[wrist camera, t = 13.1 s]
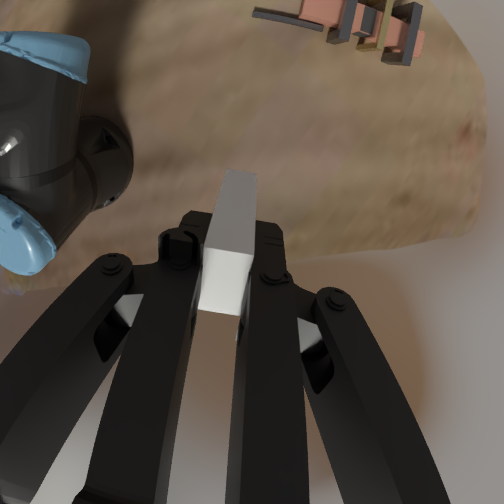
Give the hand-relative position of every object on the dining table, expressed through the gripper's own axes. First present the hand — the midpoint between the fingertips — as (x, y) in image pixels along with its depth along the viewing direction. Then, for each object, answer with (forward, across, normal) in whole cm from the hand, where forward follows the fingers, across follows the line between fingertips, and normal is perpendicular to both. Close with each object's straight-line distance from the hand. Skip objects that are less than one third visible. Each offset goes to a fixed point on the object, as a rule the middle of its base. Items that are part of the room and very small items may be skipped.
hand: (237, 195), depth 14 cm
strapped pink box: (+27, +11, +17) cm, 33 cm away
